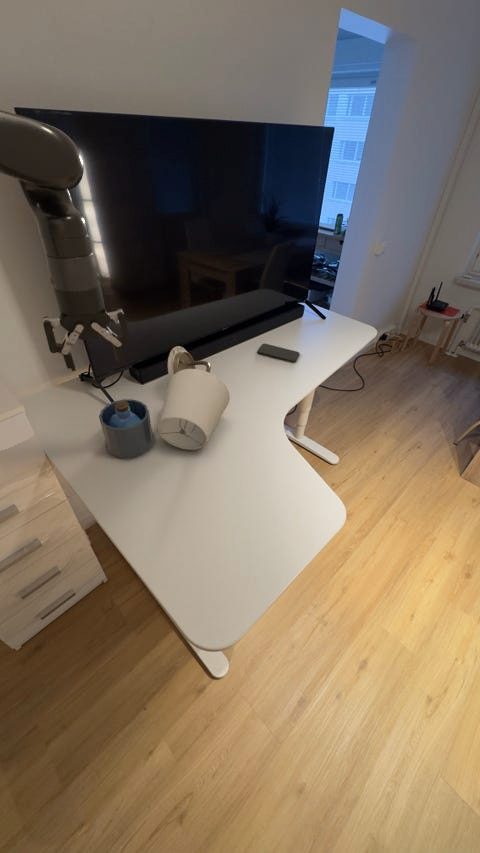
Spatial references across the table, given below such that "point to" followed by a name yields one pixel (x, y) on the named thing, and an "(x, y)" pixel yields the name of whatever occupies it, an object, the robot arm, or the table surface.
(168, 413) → the light fixture
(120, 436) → the holder
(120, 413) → the perfume bottle
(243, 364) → the table surface
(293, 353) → the phone
